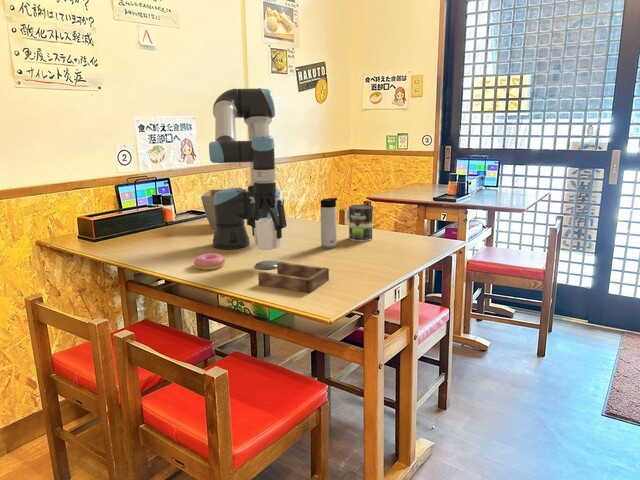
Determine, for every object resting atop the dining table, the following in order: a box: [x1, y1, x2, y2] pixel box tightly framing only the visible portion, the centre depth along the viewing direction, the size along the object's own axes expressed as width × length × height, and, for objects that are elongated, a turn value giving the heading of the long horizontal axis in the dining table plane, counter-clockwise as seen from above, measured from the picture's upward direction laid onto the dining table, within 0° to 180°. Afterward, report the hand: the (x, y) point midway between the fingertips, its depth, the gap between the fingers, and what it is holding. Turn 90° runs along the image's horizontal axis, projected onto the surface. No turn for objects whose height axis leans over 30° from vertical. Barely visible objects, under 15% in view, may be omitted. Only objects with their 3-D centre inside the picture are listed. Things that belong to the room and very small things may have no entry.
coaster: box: [255, 260, 279, 271], centre depth 176 cm, size 9×9×1 cm
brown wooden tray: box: [257, 261, 330, 294], centre depth 157 cm, size 18×13×4 cm
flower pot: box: [200, 188, 248, 230], centre depth 237 cm, size 19×19×17 cm
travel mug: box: [320, 197, 338, 250], centre depth 197 cm, size 6×7×20 cm
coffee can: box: [348, 204, 374, 243], centre depth 209 cm, size 10×10×14 cm
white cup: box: [255, 218, 277, 251], centre depth 173 cm, size 8×8×10 cm
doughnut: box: [193, 252, 226, 271], centre depth 176 cm, size 11×11×4 cm
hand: (267, 246), depth 174 cm, fingers closed on white cup, 7 cm apart
